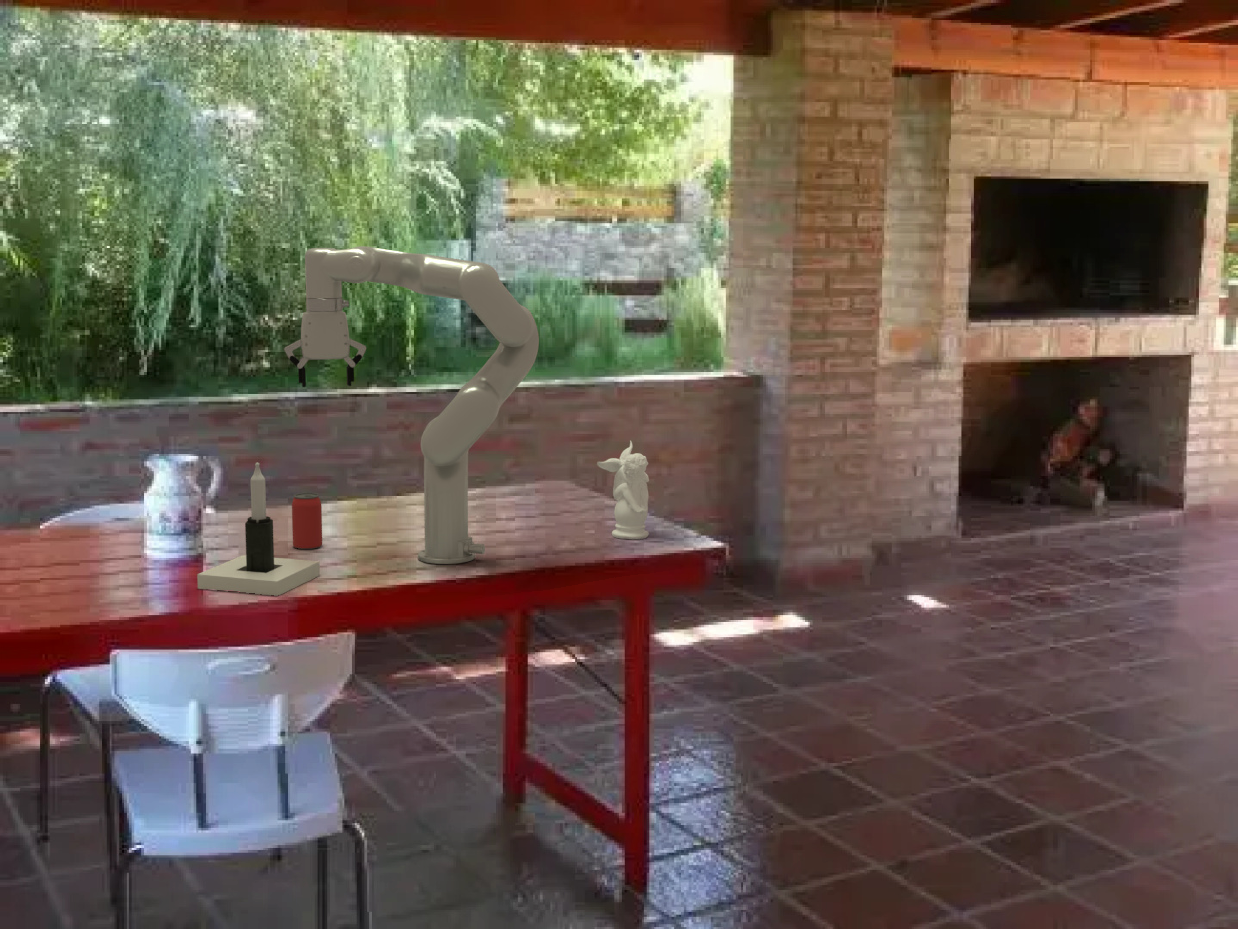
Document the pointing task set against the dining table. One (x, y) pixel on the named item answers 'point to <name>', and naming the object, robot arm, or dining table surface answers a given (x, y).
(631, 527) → the cherub figurine
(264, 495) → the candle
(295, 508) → the beer can
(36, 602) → the dining table surface
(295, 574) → the candle base
